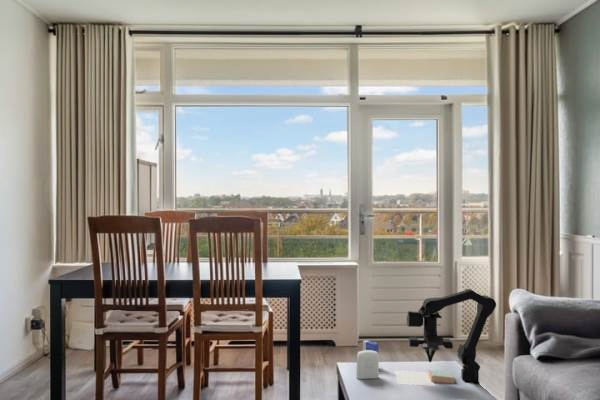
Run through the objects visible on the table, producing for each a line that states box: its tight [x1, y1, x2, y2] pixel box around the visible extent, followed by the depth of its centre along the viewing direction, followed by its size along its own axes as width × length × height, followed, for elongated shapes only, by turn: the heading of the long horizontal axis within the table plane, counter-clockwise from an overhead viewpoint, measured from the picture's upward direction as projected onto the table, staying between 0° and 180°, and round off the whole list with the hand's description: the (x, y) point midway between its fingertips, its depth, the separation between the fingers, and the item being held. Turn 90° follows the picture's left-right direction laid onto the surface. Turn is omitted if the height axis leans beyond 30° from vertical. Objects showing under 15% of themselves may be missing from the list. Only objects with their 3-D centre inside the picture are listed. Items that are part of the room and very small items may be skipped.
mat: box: [394, 370, 436, 387], centre depth 201 cm, size 16×16×1 cm
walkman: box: [362, 340, 379, 353], centre depth 217 cm, size 8×3×12 cm, turn 40°
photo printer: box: [356, 350, 380, 380], centre depth 203 cm, size 10×4×12 cm, turn 98°
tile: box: [428, 369, 455, 384], centre depth 200 cm, size 3×7×10 cm
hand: (429, 361), depth 201 cm, fingers closed
